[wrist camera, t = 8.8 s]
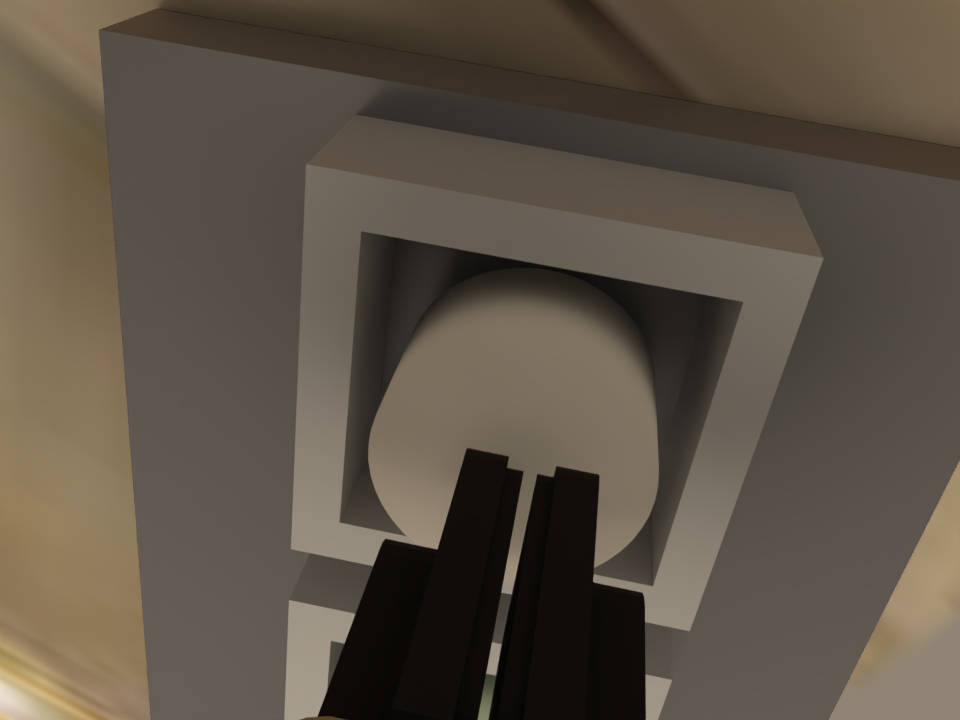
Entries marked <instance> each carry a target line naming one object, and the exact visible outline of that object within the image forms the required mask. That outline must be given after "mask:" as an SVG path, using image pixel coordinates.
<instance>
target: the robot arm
mask: <svg viewBox="0 0 960 720" xmlns="http://www.w3.org/2000/svg"><path fill="white" fill-rule="evenodd" d="M508 461H509V456H505V455H500V454H495V453H490V452H486V451H481V450H476V449H471V448H467V449H466V452H465V456H464V459H463V463H462V466H461V469H460V473H459V476H458V480H457V483H456V487H455V490H454V494H453V497H452V501H451V504H450V508H449V511H448V515H447V518H446V522H445V525H444V528H443V532H442V535H441V539H440V542H439V546H438V549H433V548H428V547H423V546H419V545H414V544H409V543H404V542H400V541H395V540H390V539H385V540H384V541H383V542H382V545H381V547H380V549H379V552H378V555H377V557H376V560H375V563H374V565H373V568H372V571H371V573H370V576H369V579H368V582H367V584H366V587H365V590H364V592H363V595H362V598H361V600H360V603H359V606H358V608H357V611H356V614H355V617H354V619H353V622H352V625H351V627H350V630H349V633H348V635H347V638H346V641H345V644H344V646H343V649H342V652H341V654H340V657H339V660H338V662H337V665H336V668H335V671H334V673H333V676H332V679H331V681H330V684H329V687H328V689H327V692H326V695H325V697H324V700H323V703H322V706H321V708H320V711H319V714H318V716H317V717H306V718H303V719H300V720H478V715H479V710H480V704H481V699H482V694H483V688H484V683H485V678H486V672H487V667H488V661H489V656H490V651H491V645H492V640H493V634H494V629H495V624H496V618H497V613H498V607H499V602H500V597H501V591H502V586H503V581H504V575H505V570H506V564H507V559H508V554H509V548H510V543H511V537H512V532H513V527H514V521H515V516H516V510H517V505H518V500H519V494H520V489H521V484H522V478H523V473H524V471H521V470H516V469H511V468H507V466H508ZM599 480H600V476H599V474H594V473H589V472H584V471H579V470H574V469H569V468H564V467H559V466H556V469H555V473H554V477H550V476H545V475H540V474H537V478H536V482H535V487H534V492H533V496H532V501H531V506H530V511H529V515H528V520H527V525H526V530H525V534H524V539H523V544H522V549H521V553H520V558H519V563H518V568H517V572H516V577H515V582H514V587H513V591H512V596H511V601H510V605H509V610H508V615H507V620H506V624H505V629H504V634H503V639H502V645H501V650H500V656H499V661H498V667H497V673H496V679H495V685H494V690H493V696H492V702H491V708H490V713H489V719H488V720H646V669H645V600H644V595H643V593H642V592H637V591H632V590H628V589H623V588H618V587H613V586H609V585H604V584H599V583H594V582H593V577H594V561H595V545H596V529H597V513H598V497H599Z"/></svg>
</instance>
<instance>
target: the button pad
mask: <svg viewBox="0 0 960 720" xmlns="http://www.w3.org/2000/svg"><path fill="white" fill-rule="evenodd" d="M99 36H100V49H101V63H102V76H103V89H104V103H105V116H106V129H107V143H108V156H109V169H110V182H111V196H112V209H113V222H114V236H115V249H116V262H117V276H118V289H119V302H120V316H121V329H122V342H123V355H124V369H125V382H126V395H127V409H128V422H129V435H130V449H131V462H132V475H133V489H134V502H135V515H136V528H137V542H138V555H139V568H140V582H141V595H142V608H143V622H144V635H145V648H146V661H147V675H148V688H149V701H150V715H151V720H300V719H303V718H306V717H317V716H318V714H319V711H320V708H321V706H322V703H323V700H324V697H325V695H326V692H327V689H328V687H329V684H330V681H331V679H332V676H333V673H334V671H335V668H336V665H337V662H338V660H339V657H340V654H341V652H342V649H343V646H344V644H345V641H346V638H347V635H348V633H349V630H350V627H351V625H352V622H353V619H354V617H355V614H356V611H357V608H358V606H359V603H360V600H361V598H362V595H363V592H364V590H365V587H366V584H367V582H368V579H369V576H370V573H371V571H372V568H373V565H374V563H375V560H376V557H377V555H378V552H379V549H380V547H381V545H382V542H383V541H384V540H385V539H390V540H395V541H400V542H404V543H409V544H414V545H416V544H415V543H414V542H413V541H411V540H410V539H409V538H408V537H407V536H406V535H405V534H404V533H403V532H402V531H401V530H400V529H399V528H398V526H397V525H396V524H395V523H394V521H393V520H392V519H391V518H390V516H389V515H388V513H387V512H386V510H385V509H384V507H383V505H382V504H381V502H380V499H379V497H378V495H377V493H376V491H375V488H374V485H373V481H372V478H371V475H370V468H369V461H368V444H369V438H370V432H371V428H372V425H373V422H374V419H375V416H376V414H377V411H378V409H379V407H380V405H381V402H382V400H383V398H384V396H385V393H386V391H387V389H388V387H389V384H390V382H391V380H392V378H393V375H394V373H395V371H396V369H397V366H398V364H399V362H400V359H401V357H402V355H403V353H404V350H405V348H406V346H407V344H408V341H409V339H410V337H411V335H412V332H413V330H414V329H415V327H416V325H417V323H418V321H419V319H420V318H421V317H422V315H423V314H424V313H425V311H426V310H427V309H428V307H429V306H430V305H431V304H432V303H433V302H434V301H435V300H436V299H437V298H438V297H439V296H441V295H442V294H443V293H445V292H446V291H447V290H449V289H450V288H452V287H453V286H455V285H457V284H459V283H461V282H462V281H464V280H466V279H469V278H471V277H474V276H477V275H479V274H482V273H486V272H490V271H494V270H500V269H508V268H537V269H545V270H551V271H555V272H559V273H563V274H567V275H570V276H572V277H575V278H578V279H580V280H583V281H585V282H587V283H589V284H590V285H592V286H594V287H596V288H598V289H599V290H601V291H602V292H604V293H605V294H607V295H608V296H609V297H611V298H612V299H613V300H614V301H616V302H617V303H618V304H619V305H620V306H621V307H622V308H623V309H624V310H625V311H626V312H627V313H628V314H629V316H630V317H631V318H632V319H633V320H634V322H635V323H636V325H637V326H638V328H639V329H640V331H641V333H642V334H643V336H644V338H645V341H646V343H647V345H648V347H649V350H650V353H651V357H652V361H653V365H654V374H655V389H656V413H657V436H658V460H659V480H658V489H657V494H656V499H655V503H654V505H653V508H652V510H651V513H650V515H649V517H648V519H647V521H646V522H645V524H644V526H643V527H642V529H641V530H640V531H639V533H638V534H637V535H636V536H635V538H634V539H633V540H632V541H631V542H630V543H629V544H628V545H627V546H626V547H625V548H624V549H623V550H621V551H620V552H619V553H618V554H616V555H615V556H613V557H612V558H611V559H609V560H608V561H606V562H604V563H602V564H600V565H598V566H597V567H595V568H594V577H593V582H594V583H599V584H604V585H609V586H613V587H618V588H623V589H628V590H632V591H637V592H642V593H643V595H644V600H645V669H646V720H829V718H830V715H831V714H832V712H833V710H834V708H835V706H836V704H837V702H838V700H839V698H840V696H841V694H842V692H843V690H844V688H845V686H846V684H847V682H848V680H849V678H850V676H851V674H852V672H853V670H854V668H855V666H856V664H857V662H858V660H859V658H860V656H861V654H862V652H863V650H864V648H865V646H866V644H867V642H868V640H869V639H870V637H871V635H872V633H873V631H874V629H875V627H876V625H877V623H878V621H879V619H880V617H881V615H882V613H883V611H884V609H885V607H886V605H887V603H888V601H889V599H890V597H891V595H892V593H893V591H894V589H895V587H896V585H897V583H898V581H899V579H900V577H901V575H902V573H903V571H904V569H905V567H906V565H907V563H908V561H909V559H910V557H911V555H912V553H913V551H914V549H915V547H916V545H917V544H918V542H919V540H920V538H921V536H922V534H923V532H924V530H925V528H926V526H927V524H928V522H929V520H930V518H931V516H932V514H933V512H934V510H935V508H936V506H937V504H938V502H939V500H940V498H941V496H942V494H943V492H944V490H945V488H946V486H947V484H948V482H949V480H950V478H951V476H952V474H953V472H954V470H955V468H956V466H957V464H958V462H959V460H960V148H955V147H950V146H944V145H938V144H932V143H927V142H921V141H915V140H909V139H904V138H898V137H892V136H886V135H881V134H875V133H869V132H863V131H858V130H852V129H846V128H840V127H835V126H829V125H823V124H817V123H811V122H806V121H800V120H794V119H788V118H783V117H777V116H771V115H765V114H760V113H754V112H748V111H742V110H737V109H731V108H725V107H719V106H714V105H708V104H702V103H696V102H691V101H685V100H679V99H673V98H668V97H662V96H656V95H650V94H644V93H639V92H633V91H627V90H621V89H616V88H610V87H604V86H598V85H593V84H587V83H581V82H575V81H570V80H564V79H558V78H552V77H547V76H541V75H535V74H529V73H524V72H518V71H512V70H506V69H500V68H495V67H489V66H483V65H477V64H472V63H466V62H460V61H454V60H449V59H443V58H437V57H431V56H426V55H420V54H414V53H408V52H403V51H397V50H391V49H385V48H380V47H374V46H368V45H362V44H356V43H351V42H345V41H339V40H333V39H328V38H322V37H316V36H310V35H305V34H299V33H293V32H287V31H282V30H276V29H270V28H264V27H259V26H253V25H247V24H241V23H236V22H230V21H224V20H218V19H213V18H207V17H201V16H195V15H189V14H184V13H178V12H172V11H166V10H161V9H155V10H152V11H150V12H147V13H144V14H141V15H139V16H136V17H133V18H130V19H128V20H125V21H122V22H119V23H117V24H114V25H111V26H108V27H106V28H103V29H100V30H99ZM513 587H514V582H508V581H503V586H502V591H501V597H500V602H499V607H498V613H497V618H496V624H495V629H494V634H493V640H492V645H491V651H490V656H489V661H488V667H487V672H486V674H491V675H495V676H496V673H497V667H498V661H499V656H500V650H501V645H502V639H503V634H504V629H505V624H506V620H507V615H508V610H509V605H510V601H511V596H512V591H513Z"/></svg>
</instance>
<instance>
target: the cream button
mask: <svg viewBox="0 0 960 720" xmlns="http://www.w3.org/2000/svg"><path fill="white" fill-rule="evenodd" d="M467 448H471V449H476V450H481V451H486V452H490V453H495V454H500V455H505V456H509V461H508V466H507V468H511V469H516V470H521V471H524V473H523V478H522V484H521V489H520V494H519V500H518V505H517V510H516V516H515V521H514V527H513V532H512V537H511V543H510V548H509V554H508V559H507V564H506V570H505V575H504V581H508V582H515V577H516V572H517V568H518V563H519V558H520V553H521V549H522V544H523V539H524V534H525V530H526V525H527V520H528V515H529V511H530V506H531V501H532V496H533V492H534V487H535V482H536V478H537V474H540V475H545V476H550V477H554V473H555V469H556V466H559V467H564V468H569V469H574V470H579V471H584V472H589V473H594V474H599V476H600V480H599V497H598V513H597V529H596V545H595V561H594V568H595V567H597V566H598V565H600V564H602V563H604V562H606V561H608V560H609V559H611V558H612V557H613V556H615V555H616V554H618V553H619V552H620V551H621V550H623V549H624V548H625V547H626V546H627V545H628V544H629V543H630V542H631V541H632V540H633V539H634V538H635V536H636V535H637V534H638V533H639V531H640V530H641V529H642V527H643V526H644V524H645V522H646V521H647V519H648V517H649V515H650V513H651V510H652V508H653V505H654V503H655V499H656V494H657V489H658V480H659V460H658V436H657V413H656V389H655V374H654V365H653V361H652V357H651V353H650V350H649V347H648V345H647V343H646V341H645V338H644V336H643V334H642V333H641V331H640V329H639V328H638V326H637V325H636V323H635V322H634V320H633V319H632V318H631V317H630V316H629V314H628V313H627V312H626V311H625V310H624V309H623V308H622V307H621V306H620V305H619V304H618V303H617V302H616V301H614V300H613V299H612V298H611V297H609V296H608V295H607V294H605V293H604V292H602V291H601V290H599V289H598V288H596V287H594V286H592V285H590V284H589V283H587V282H585V281H583V280H580V279H578V278H575V277H572V276H570V275H567V274H563V273H559V272H555V271H551V270H545V269H537V268H508V269H500V270H494V271H490V272H486V273H482V274H479V275H477V276H474V277H471V278H469V279H466V280H464V281H462V282H461V283H459V284H457V285H455V286H453V287H452V288H450V289H449V290H447V291H446V292H445V293H443V294H442V295H441V296H439V297H438V298H437V299H436V300H435V301H434V302H433V303H432V304H431V305H430V306H429V307H428V309H427V310H426V311H425V313H424V314H423V315H422V317H421V318H420V319H419V321H418V323H417V325H416V327H415V329H414V330H413V332H412V335H411V337H410V339H409V341H408V344H407V346H406V348H405V350H404V353H403V355H402V357H401V359H400V362H399V364H398V366H397V369H396V371H395V373H394V375H393V378H392V380H391V382H390V384H389V387H388V389H387V391H386V393H385V396H384V398H383V400H382V402H381V405H380V407H379V409H378V411H377V414H376V416H375V419H374V422H373V425H372V428H371V432H370V438H369V444H368V461H369V468H370V475H371V478H372V481H373V485H374V488H375V491H376V493H377V495H378V497H379V499H380V502H381V504H382V505H383V507H384V509H385V510H386V512H387V513H388V515H389V516H390V518H391V519H392V520H393V521H394V523H395V524H396V525H397V526H398V528H399V529H400V530H401V531H402V532H403V533H404V534H405V535H406V536H407V537H408V538H409V539H410V540H411V541H413V542H414V543H415V544H416V545H419V546H423V547H428V548H433V549H438V546H439V542H440V539H441V535H442V532H443V528H444V525H445V522H446V518H447V515H448V511H449V508H450V504H451V501H452V497H453V494H454V490H455V487H456V483H457V480H458V476H459V473H460V469H461V466H462V463H463V459H464V456H465V452H466V449H467Z"/></svg>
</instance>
